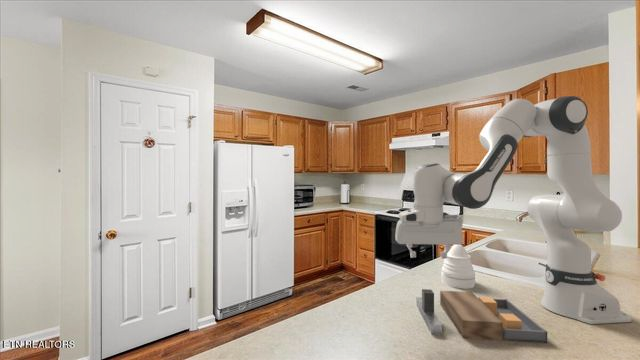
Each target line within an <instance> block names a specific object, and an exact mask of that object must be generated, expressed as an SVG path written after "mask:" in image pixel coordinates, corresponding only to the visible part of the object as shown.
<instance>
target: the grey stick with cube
mask: <svg viewBox="0 0 640 360" xmlns="http://www.w3.org/2000/svg"><path fill="white" fill-rule="evenodd" d="M415 304H416V307H417V309H418V311H419V313H420V315H421V317H422V319H423V321H424V323H425V325H426V327H427V328H428V331H429V333H430V334H431V335H438V336H442V335H443V325H442V323H441V321H440V319H439V317H438V316H437V314H436V313H435V292H434V291H433V290H432V289H427V288H426V289H425V288H424V289H423V288H422V289H421V296H420V297H419V296H417V297H416V303H415Z"/></svg>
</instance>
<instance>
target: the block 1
mask: <svg viewBox="0 0 640 360" xmlns="http://www.w3.org/2000/svg"><path fill="white" fill-rule="evenodd" d="M477 298H478V299H479V300H480V301H481V302H482V303H483V304H484V305H485V306H486V307H487V308H488V309H489V310H490V311H491V312H493V313H494V314H495V315H497V302H496V301H495V300H493V299H494V298H492V297H490V296H477Z"/></svg>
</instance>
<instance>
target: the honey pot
mask: <svg viewBox="0 0 640 360" xmlns="http://www.w3.org/2000/svg"><path fill="white" fill-rule="evenodd" d="M471 258H472V256H471V255H470V254H468V251H467V250H466V248H465V247H464V246H463V245H462V243H461V244H460V245H452V246H451V248H450V250H449V252H448V253H447V258H445V259H444V261H443V265H442V267H441V282H442V283H443V284H445V285H447V286H450V287H453V288H456V289H465V290H466V289H472V288H475V287H476V271H475V269H474V266H473V263H472V261H471Z"/></svg>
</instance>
